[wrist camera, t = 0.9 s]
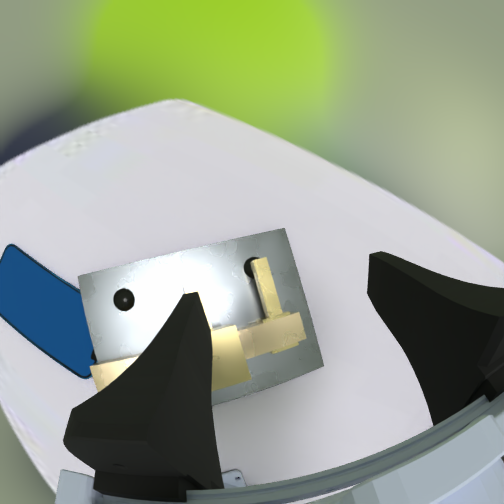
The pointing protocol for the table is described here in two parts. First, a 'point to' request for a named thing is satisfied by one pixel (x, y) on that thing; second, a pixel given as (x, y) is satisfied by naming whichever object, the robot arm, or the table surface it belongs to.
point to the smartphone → (45, 311)
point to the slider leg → (221, 345)
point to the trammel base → (208, 308)
